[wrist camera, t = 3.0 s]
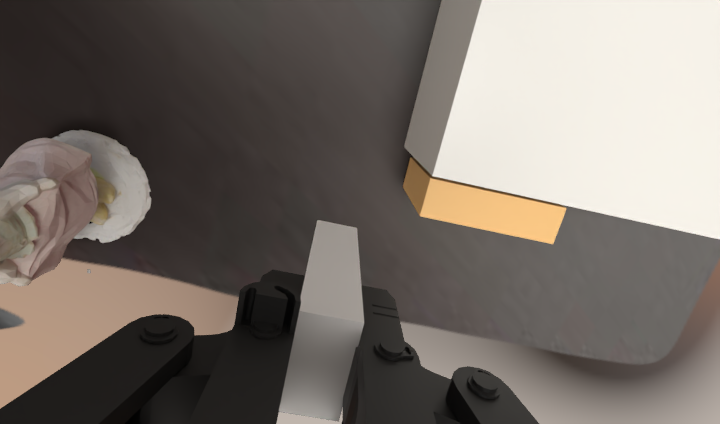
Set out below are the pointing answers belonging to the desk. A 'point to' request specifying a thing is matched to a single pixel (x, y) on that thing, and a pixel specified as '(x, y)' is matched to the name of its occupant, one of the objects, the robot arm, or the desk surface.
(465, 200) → the side door
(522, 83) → the block
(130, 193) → the figurine
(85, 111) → the desk surface
